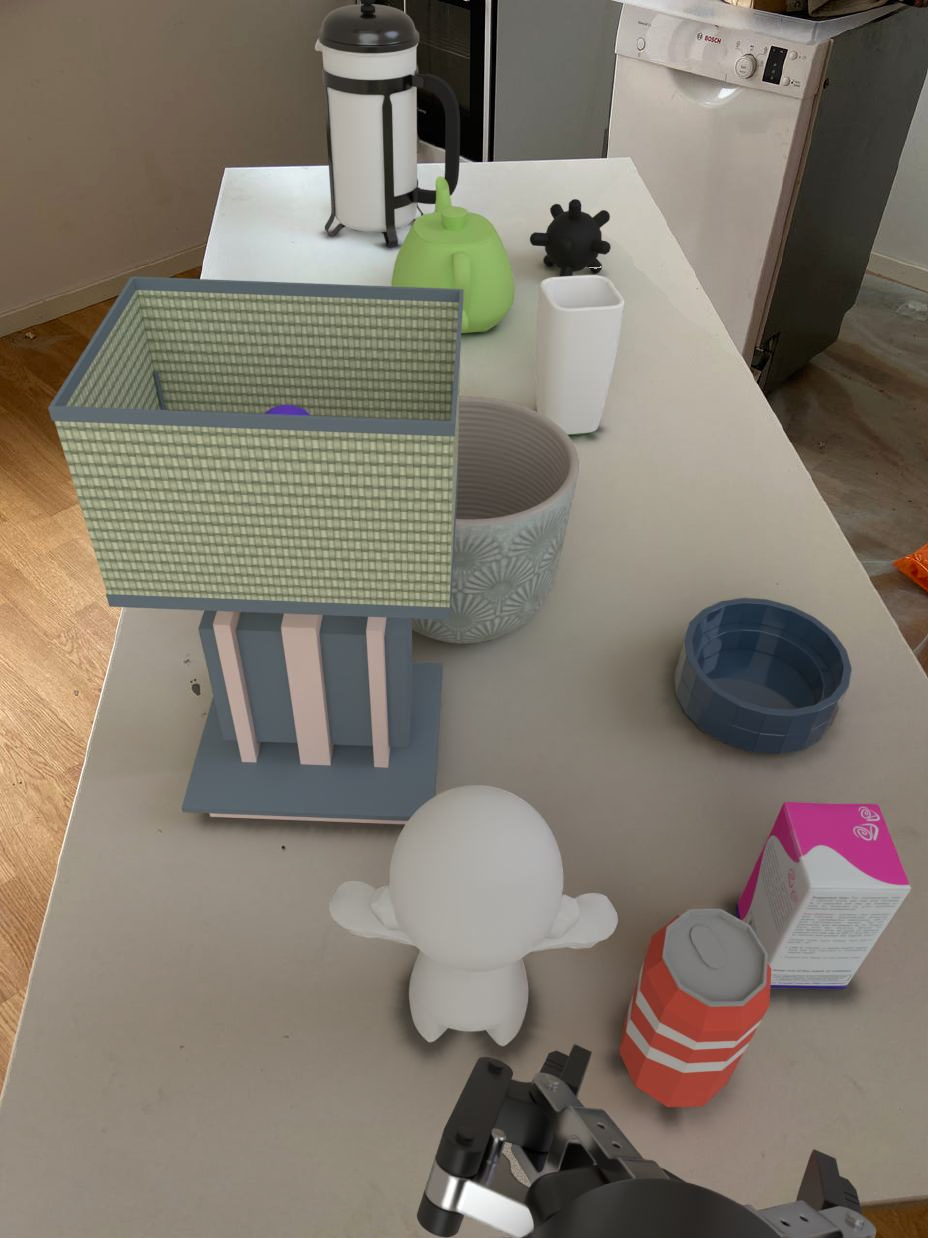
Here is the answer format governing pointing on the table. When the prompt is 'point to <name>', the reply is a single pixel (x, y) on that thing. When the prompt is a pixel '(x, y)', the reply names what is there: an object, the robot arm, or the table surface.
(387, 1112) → the table surface
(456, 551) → the planter
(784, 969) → the supplement box
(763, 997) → the beverage can
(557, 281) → the cup
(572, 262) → the toy ball
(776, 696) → the bowl
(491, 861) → the figurine
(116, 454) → the desk lamp
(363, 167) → the coffee press
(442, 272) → the teapot
